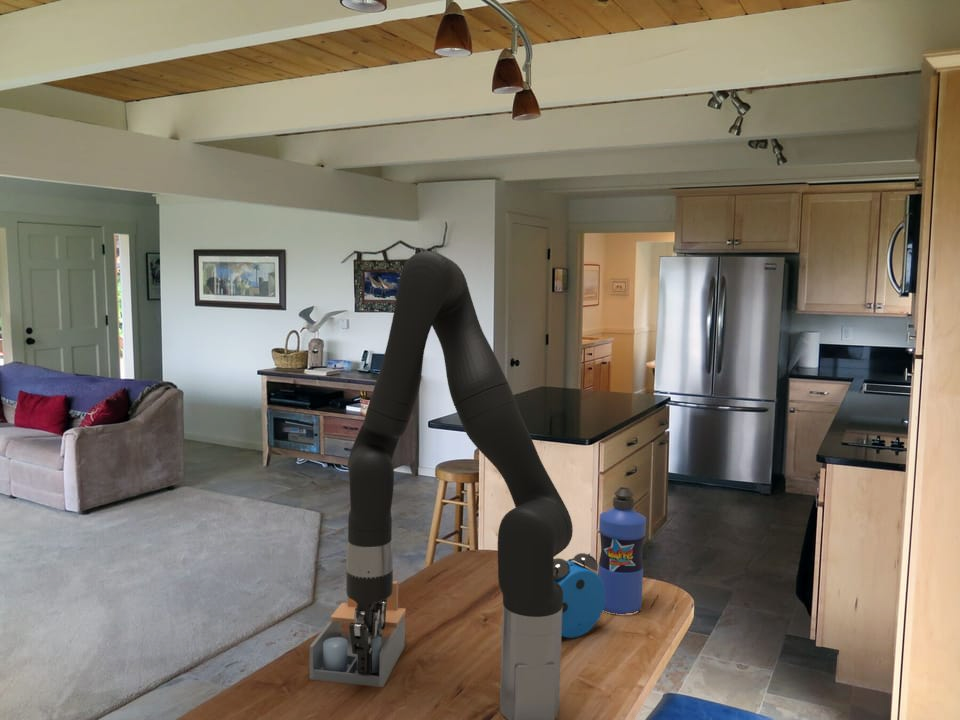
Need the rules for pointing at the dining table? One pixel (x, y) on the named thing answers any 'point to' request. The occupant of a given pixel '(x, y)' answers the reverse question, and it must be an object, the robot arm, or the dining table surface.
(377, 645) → the blue-grey rounded cylinder
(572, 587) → the alarm clock
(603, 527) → the water bottle
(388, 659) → the housing
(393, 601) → the lid
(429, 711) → the dining table surface
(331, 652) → the grey rounded cylinder
